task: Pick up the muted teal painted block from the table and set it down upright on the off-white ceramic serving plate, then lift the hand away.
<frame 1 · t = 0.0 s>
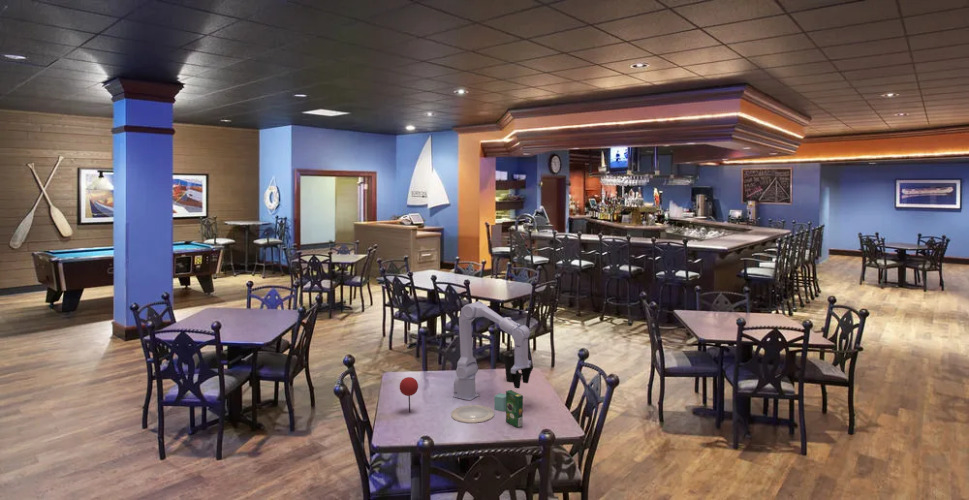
hand: (521, 385, 251), 10 cm above the table, fingers open, 7 cm apart
coffee box: (514, 425, 235), on the table
serving plate: (472, 414, 245), on the table
lollipop: (409, 412, 249), on the table
drinking cup: (511, 381, 289), on the table
teal block: (501, 409, 252), on the table
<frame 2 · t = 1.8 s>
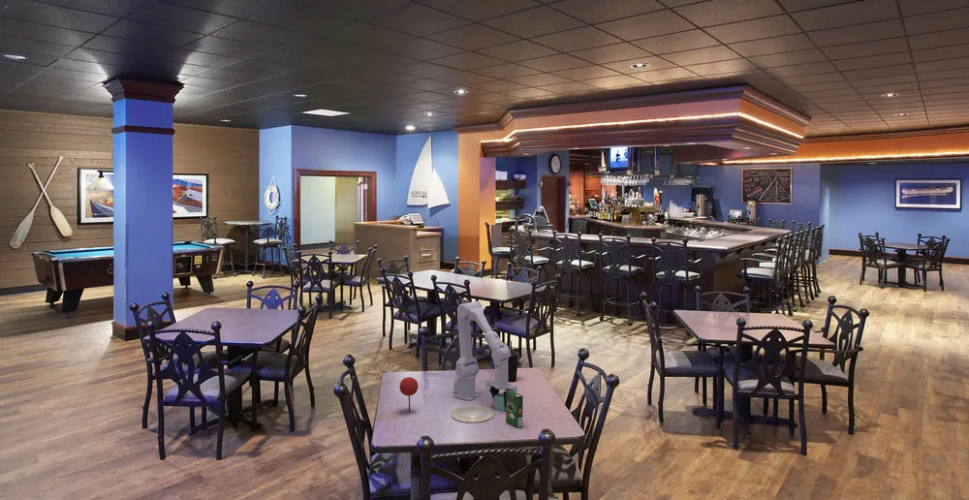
hand: (501, 405, 252), 2 cm above the table, fingers closed on teal block, 4 cm apart
teal block: (501, 408, 252), on the table, touching gripper
everything else where it was.
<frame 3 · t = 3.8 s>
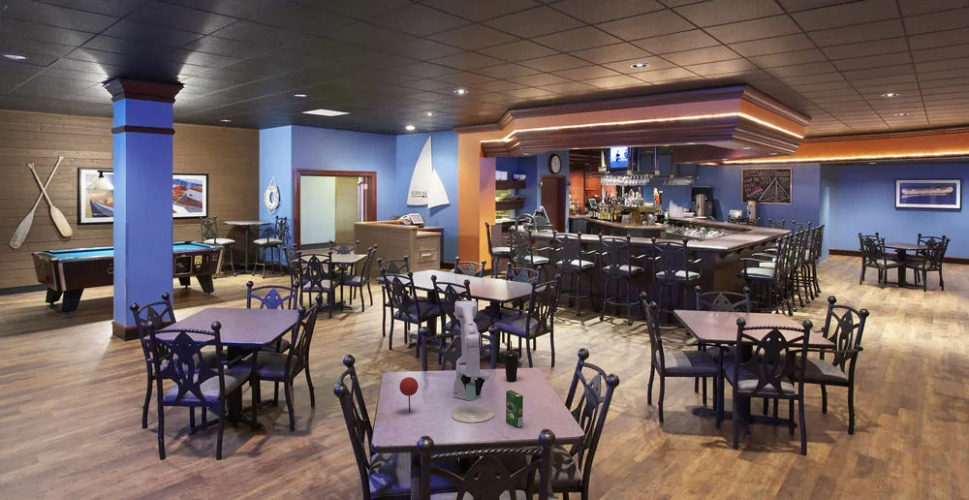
hand: (473, 394, 245), 9 cm above the table, fingers closed on teal block, 4 cm apart
teal block: (473, 398, 245), point 7 cm above the table, touching gripper
everything else where it was.
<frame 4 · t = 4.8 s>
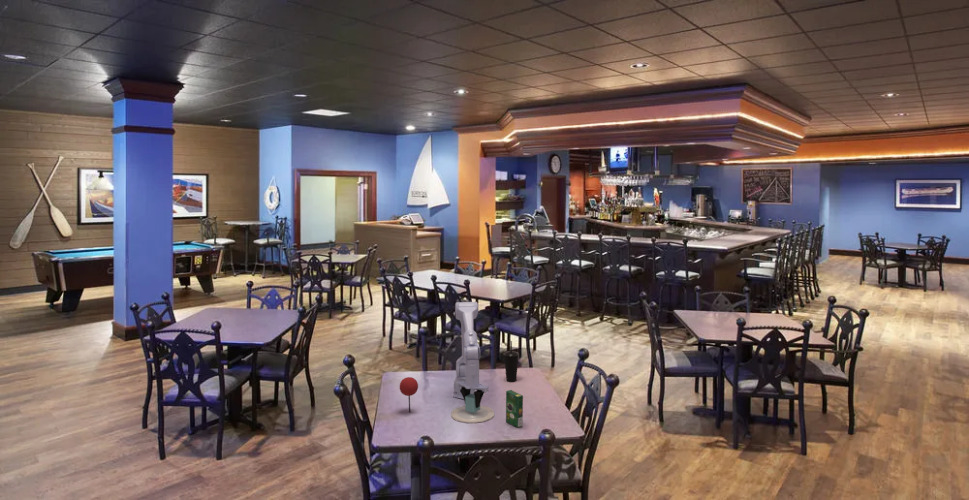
hand: (472, 405, 245), 4 cm above the table, fingers closed on teal block, 4 cm apart
teal block: (472, 409, 245), point 2 cm above the table, touching gripper
everything else where it was.
when the fingers open (4 cm above the table, at t = 5.7 s): teal block stays where it is, resting on serving plate.
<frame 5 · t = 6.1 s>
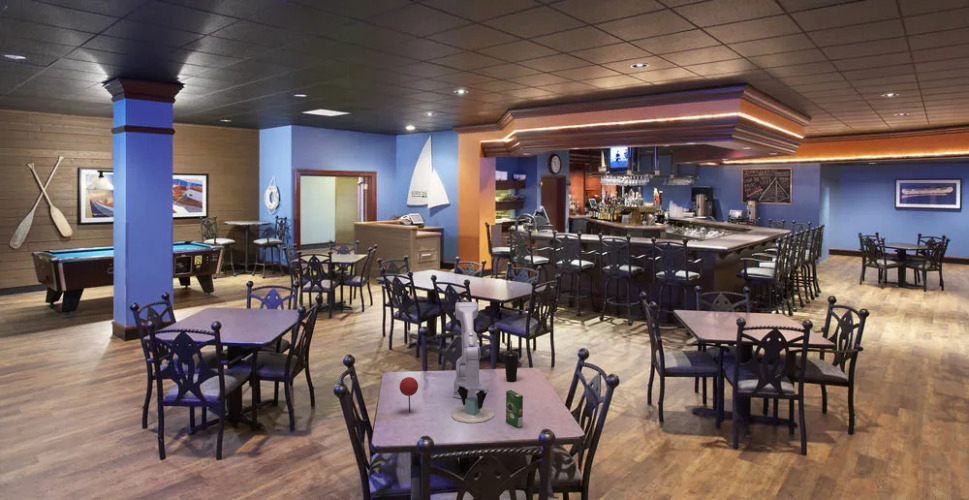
hand: (472, 406, 245), 4 cm above the table, fingers open, 7 cm apart
teal block: (472, 412, 245), point 1 cm above the table, touching serving plate
everything else where it was.
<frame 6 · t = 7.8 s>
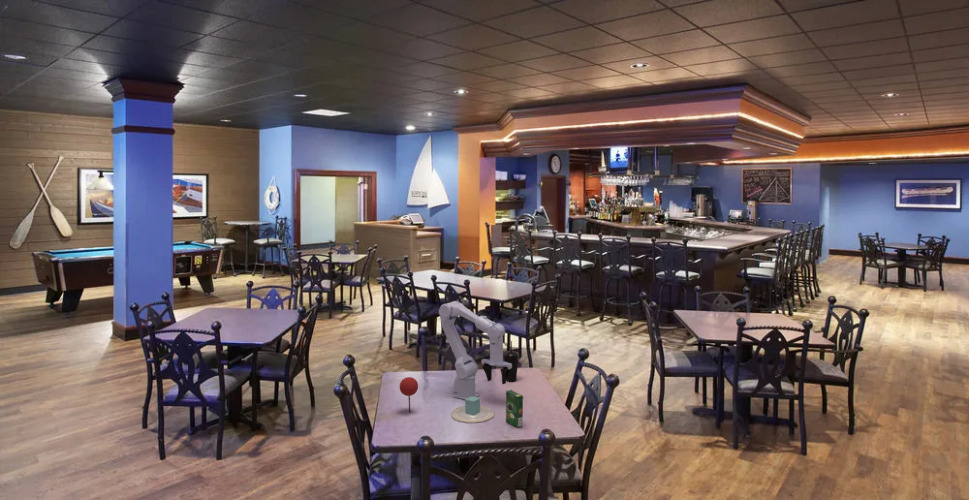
hand: (496, 382, 258), 9 cm above the table, fingers open, 7 cm apart
nothing on the table moved.
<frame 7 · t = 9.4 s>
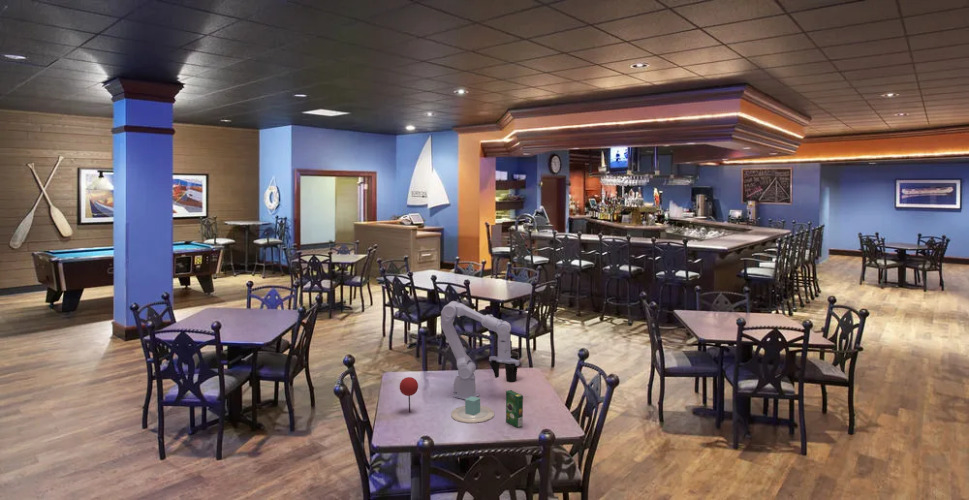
hand: (504, 378, 263), 9 cm above the table, fingers open, 7 cm apart
nothing on the table moved.
at the end: teal block inside the target area on the serving plate (0.1 cm from its centre), point 0.9 cm above the serving plate's base; teal block tilted 0°; the gripper is holding nothing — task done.
